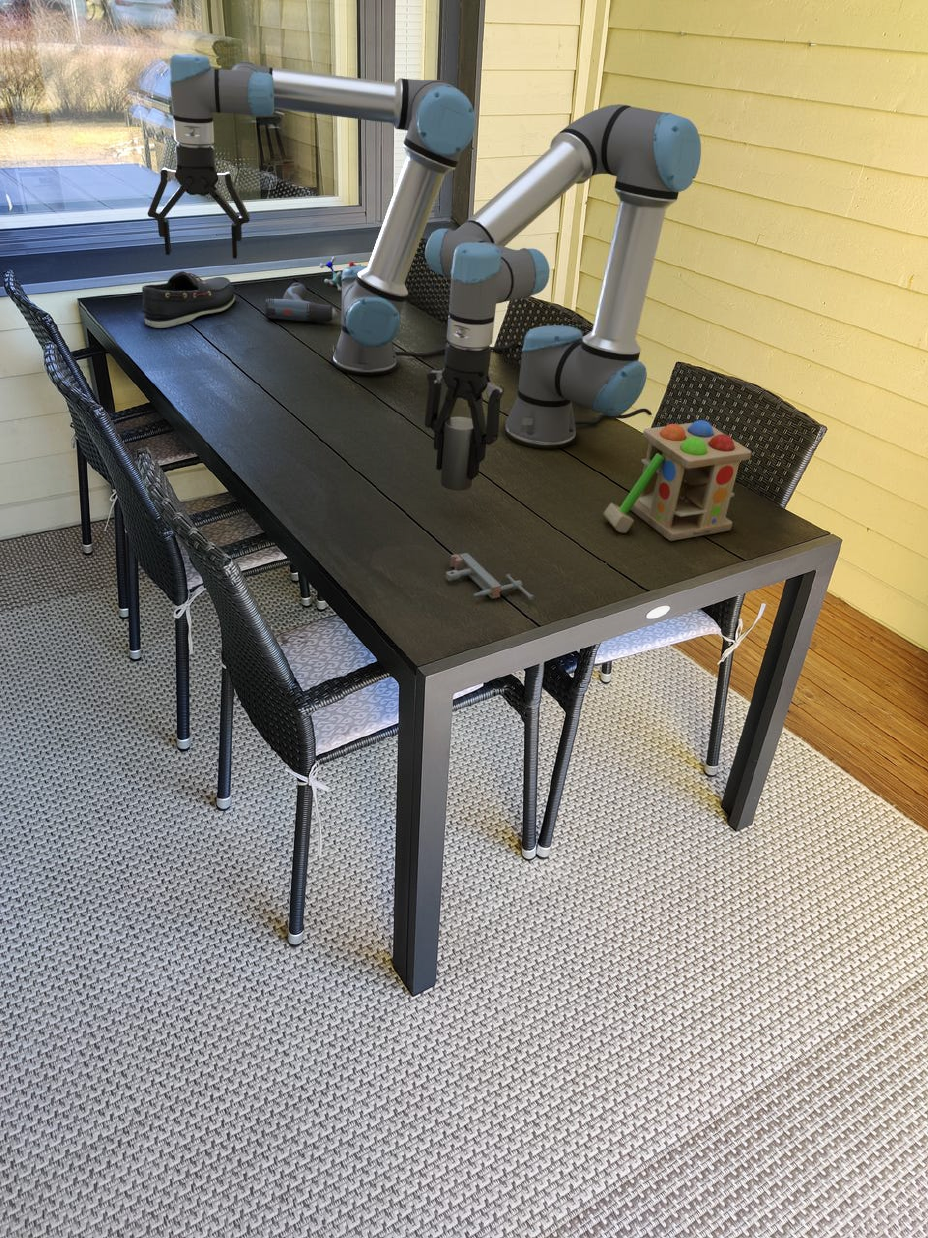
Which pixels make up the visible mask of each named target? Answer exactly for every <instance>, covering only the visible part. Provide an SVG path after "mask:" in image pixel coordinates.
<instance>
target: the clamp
mask: <svg viewBox="0 0 928 1238" xmlns="http://www.w3.org/2000/svg"><path fill="white" fill-rule="evenodd" d="M449 564H450V565H449V566H450V568H454V569H452V570H448V571H445V579H446V580H447V581H449V582H451V581H455V580H459V579H461V577H465V576H468V577H469V578H470V579H471V580H472V581H473V582H474V583H475V584H476V585H477V586H478V587H479V588H480V589H481V590H480V591H478V592H474V593H473V594H472V596H473V598H475V597H484V596H489V598H490V599H498V598H500V597H501V594H500V592H503V591H507V590H511V589H512V590H515V591H516V590H518V589H519V590H520V591H521V592H522V593H523V594H524V595H525V596H526V597H527V599H528V600H529V601H532V600H533V599H534V597H535V596H534V595H533V594H531V593H530V592H528V591H527V590H526V589H525V588H524V587H523V582H522V581H521V580H520V579H519V580H515V579H513V577H512V575H511V574H510V573H508V574H506V575H505V579H506V580H509V581H510V582H511V583H509V584H505V585H501V584H500V582H498V581H497V580H496V579H495V578H494V577H493V575H491V574H490V573H489V572H488V571H487V570H486V569H485V568H484V567H483V566H482V565H481V564H480V563H479V562H477V560H475V558H473V557H472V556H471V554H469V553H468V552H464V553H461V554H458V553H456V554H451V556H450V563H449Z"/></svg>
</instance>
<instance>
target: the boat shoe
mask: <svg viewBox="0 0 928 1238" xmlns="http://www.w3.org/2000/svg"><path fill="white" fill-rule="evenodd" d="M141 292H142V299H143V300H142V307H143V308H141V312H142V313H143V314H144V324H145V325H146V326H148V327H151V328H157V329H165V328H171V327H174V326H178V325H181V324H185V323H189V322H191V321H193V320H195V318H197V317H200V316H204V315H208V314H214V313H219V312H223V311H225V310H227V309H229V308H230V307H231V306H232V305H233V303H234V302H235V300H236V292H235V290H234V286H233V283H232V282H231V280H230V279H229V278H227V277H225V276H216V277H211V278H206V279H202V278H201V277H200V276H198V275H196V274H195V273H191V272H187V271H183V270H182V271H179V272H176V273H174V274H173V275H172V276H171V277H170V278H169V279H168V280H167V282H166V283H158V284H145V285H143V286H142V287H141Z"/></svg>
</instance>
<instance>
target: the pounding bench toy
mask: <svg viewBox="0 0 928 1238" xmlns="http://www.w3.org/2000/svg"><path fill="white" fill-rule="evenodd" d="M642 438H643V440H645V441H646V442H648V446H647V450H646V455H645V458H642V459H641V463H643V464H644V465H643V469H642V474H641V475H640V477H639V478H638V480H637V481H636V483H635V484H634V486H633V488H632V489H631V490H630V492H629V493H628V495H627V496H626V498H625V499H624V501H623V502H622V503H621V505H620V506H619V505H617V504H615V503H613V502H610V503H609V504H608V505H607V507H606V509H605V510H604V512H603V517H604V518H605V519H606V520H607V521H608V522H609V524H610V525H611V526H612V527H613V528H614V529H615V530H616V531H617V532H618V533H621V534H623V533H624V534H625V533H627V532H628V531H629V530H630V529H631V527H632V526H633V524H634V523H635V521H634V519H633V518H632V516H630V515H629V512H630V511H631V512H632V513H634V515H636V516H638V518H640V519H641V520H642V521H644V522H645V523H646V524H648V525H649V526H650V527H652V529H654V530H655V531H656V532H658V533H659V534H661V536H663V537H664V538H666V539H667V540H668V541H670V542H673V541H680V540H684V539H690V538H695V537H702V536H707V535H712V534H717V533H724V532H728V531H731V529H732V527H733V521H732V520H731V519H729V518H728V517H727V512H728V509H729V505H730V501H731V498H732V497H733V498H734V497H735V493H734V492H733V490H734V487H735V486H734V485H735V482H736V479H737V474H738V470H739V466H740V462H743V461H749V460H750V459H751V457H752V453H753V452H752V450H750V449H749V448H747V447H745V446H743V444H741V443H739V442H738V441H736V440H734V439H733V438H732V437H731V436H729V435H728V434H725V433H724V432H722V431H721V430H719V429H717V428H716V427H714V426H712V425H711V423H710V422H708V421H706V420H703V419H698V420H696V421H694V422H688V423H680V424H679V423H678V424H677V423H669V424H666V425H664V426H655V427H650V428H649V427H648V428H644V429H643V432H642Z"/></svg>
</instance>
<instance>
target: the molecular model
mask: <svg viewBox="0 0 928 1238" xmlns="http://www.w3.org/2000/svg"><path fill="white" fill-rule="evenodd" d="M335 261H336V256H332V257H331V260H330V261H328V262H327V263H322V262H321V263H319V267H320V268H321V269H323V268H325V267H327V268H328V269H330V270H331V272H332V279H328V278H325V279H324V284H328V283H329V284H330V286H334V285H336V287H337V291H338V292H342V286H340V284H339V281H340V280H339V278H342V272H341V271H338V272H337V273H336V272H335V270H334V268H333V267H334V264H333V263H334V262H335ZM350 266H362V264H360V263H358V264H355V263H354V262H349V263H348V267H350Z"/></svg>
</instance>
